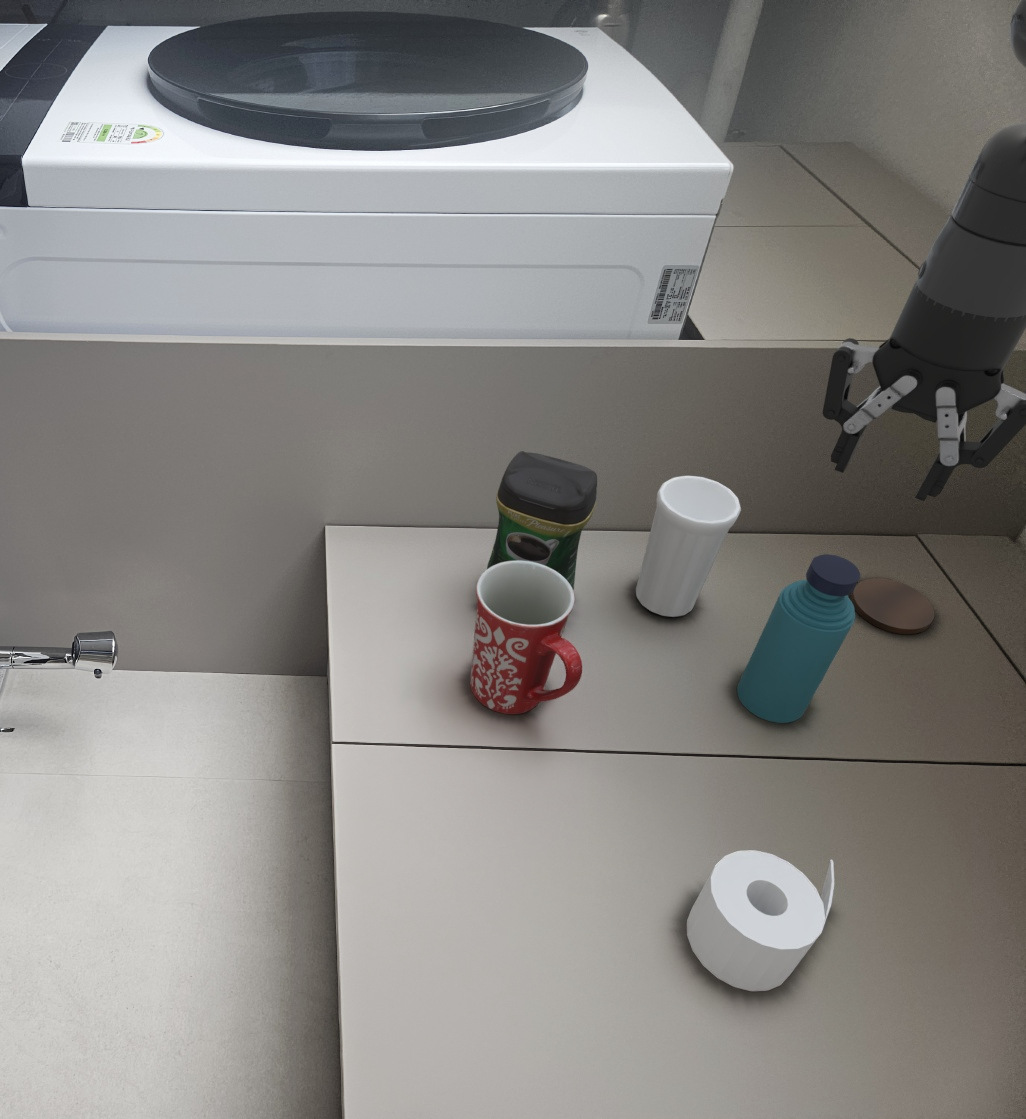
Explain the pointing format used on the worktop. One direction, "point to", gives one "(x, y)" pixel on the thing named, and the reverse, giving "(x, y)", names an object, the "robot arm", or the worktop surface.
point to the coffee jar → (543, 512)
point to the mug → (521, 636)
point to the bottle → (794, 652)
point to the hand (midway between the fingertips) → (881, 479)
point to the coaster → (892, 606)
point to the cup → (684, 542)
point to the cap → (832, 575)
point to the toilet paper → (757, 919)
